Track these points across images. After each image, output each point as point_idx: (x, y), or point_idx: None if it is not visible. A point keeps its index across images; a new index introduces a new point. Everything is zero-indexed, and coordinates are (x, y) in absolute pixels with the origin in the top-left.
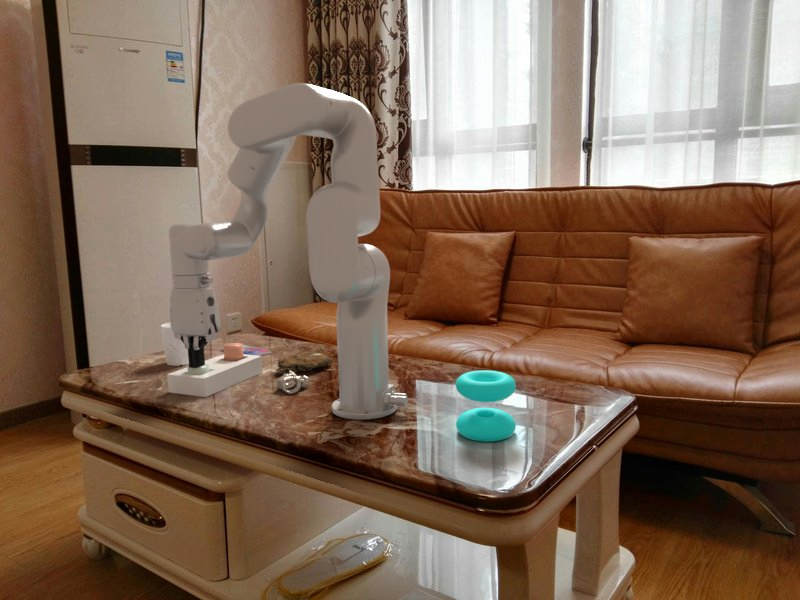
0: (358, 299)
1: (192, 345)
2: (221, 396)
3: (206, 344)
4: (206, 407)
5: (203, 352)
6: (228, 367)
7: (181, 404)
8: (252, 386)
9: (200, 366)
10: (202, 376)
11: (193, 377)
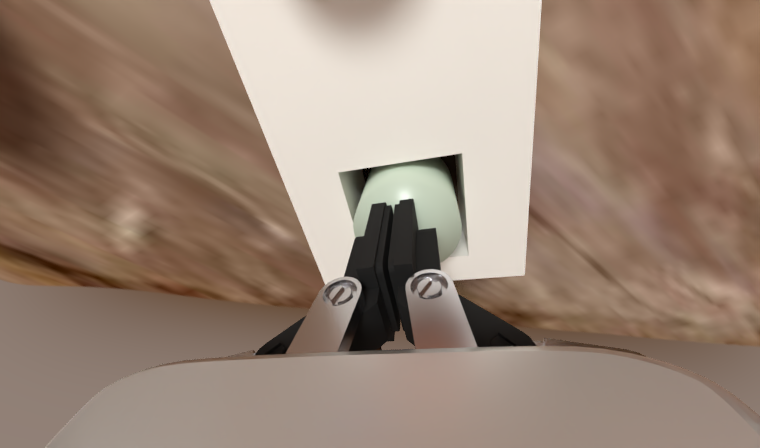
0: None
1: (381, 338)
2: (559, 198)
3: (475, 305)
4: (579, 286)
5: (439, 266)
6: (508, 76)
7: (480, 295)
8: (632, 10)
9: (419, 227)
10: (492, 259)
11: (461, 278)
